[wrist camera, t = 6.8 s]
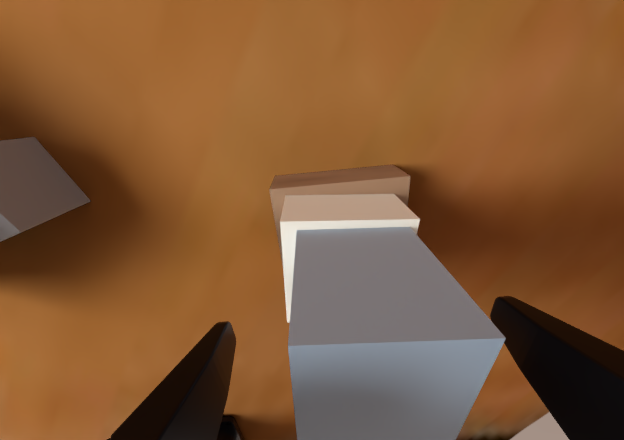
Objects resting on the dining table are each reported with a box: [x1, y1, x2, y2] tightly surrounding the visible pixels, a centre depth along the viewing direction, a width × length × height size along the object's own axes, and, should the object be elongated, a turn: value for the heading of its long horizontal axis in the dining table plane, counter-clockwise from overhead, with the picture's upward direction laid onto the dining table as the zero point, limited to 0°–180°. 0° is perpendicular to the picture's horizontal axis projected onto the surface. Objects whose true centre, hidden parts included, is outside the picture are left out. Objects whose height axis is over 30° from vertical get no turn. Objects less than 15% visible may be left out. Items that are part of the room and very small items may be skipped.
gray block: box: [288, 227, 506, 440], centre depth 8 cm, size 4×4×5 cm
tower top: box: [280, 194, 420, 322], centre depth 12 cm, size 6×6×3 cm
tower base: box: [269, 165, 410, 264], centre depth 14 cm, size 7×7×3 cm
